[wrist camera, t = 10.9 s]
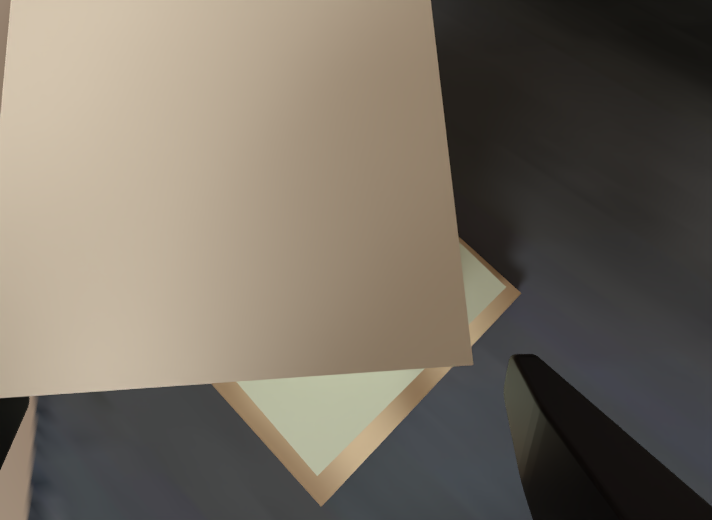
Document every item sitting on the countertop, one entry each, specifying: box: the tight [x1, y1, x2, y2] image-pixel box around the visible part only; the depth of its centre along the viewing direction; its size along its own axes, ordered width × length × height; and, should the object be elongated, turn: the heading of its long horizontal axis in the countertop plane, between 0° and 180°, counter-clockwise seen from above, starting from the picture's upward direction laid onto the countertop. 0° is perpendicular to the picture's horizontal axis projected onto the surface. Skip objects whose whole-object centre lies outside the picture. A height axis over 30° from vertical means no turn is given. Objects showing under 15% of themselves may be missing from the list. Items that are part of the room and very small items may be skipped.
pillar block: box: [0, 0, 473, 398], centre depth 12 cm, size 6×6×12 cm
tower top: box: [237, 242, 506, 476], centre depth 20 cm, size 10×10×2 cm
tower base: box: [211, 236, 521, 506], centre depth 22 cm, size 12×12×2 cm
